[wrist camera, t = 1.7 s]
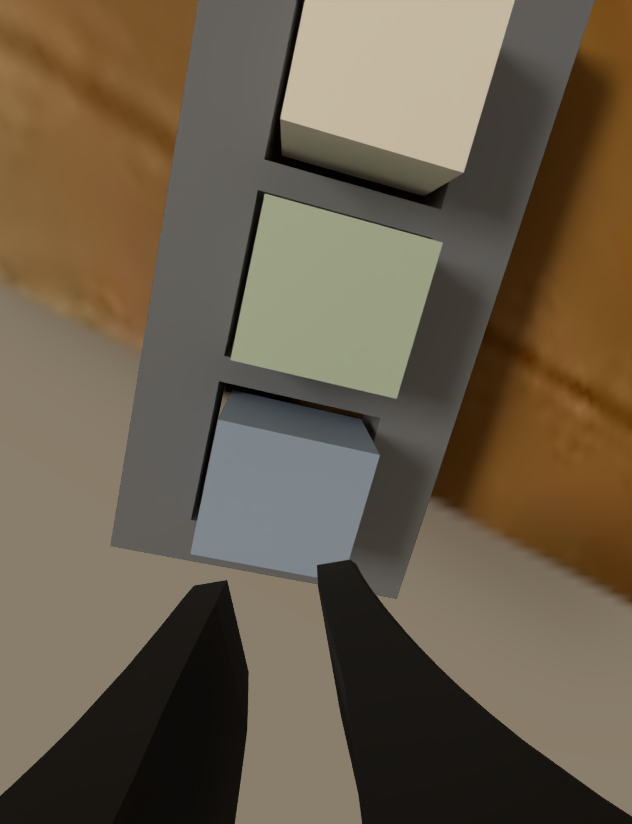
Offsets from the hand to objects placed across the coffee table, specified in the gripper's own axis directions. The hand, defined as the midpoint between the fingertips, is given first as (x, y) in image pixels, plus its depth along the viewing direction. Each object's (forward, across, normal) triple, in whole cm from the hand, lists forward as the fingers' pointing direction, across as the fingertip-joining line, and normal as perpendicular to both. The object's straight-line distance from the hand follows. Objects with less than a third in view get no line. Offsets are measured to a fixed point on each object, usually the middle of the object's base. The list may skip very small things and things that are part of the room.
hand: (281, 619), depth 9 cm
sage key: (+8, -2, -5) cm, 10 cm away
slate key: (+8, 0, 0) cm, 8 cm away
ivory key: (+8, -4, -10) cm, 14 cm away
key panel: (+10, -2, -5) cm, 11 cm away
